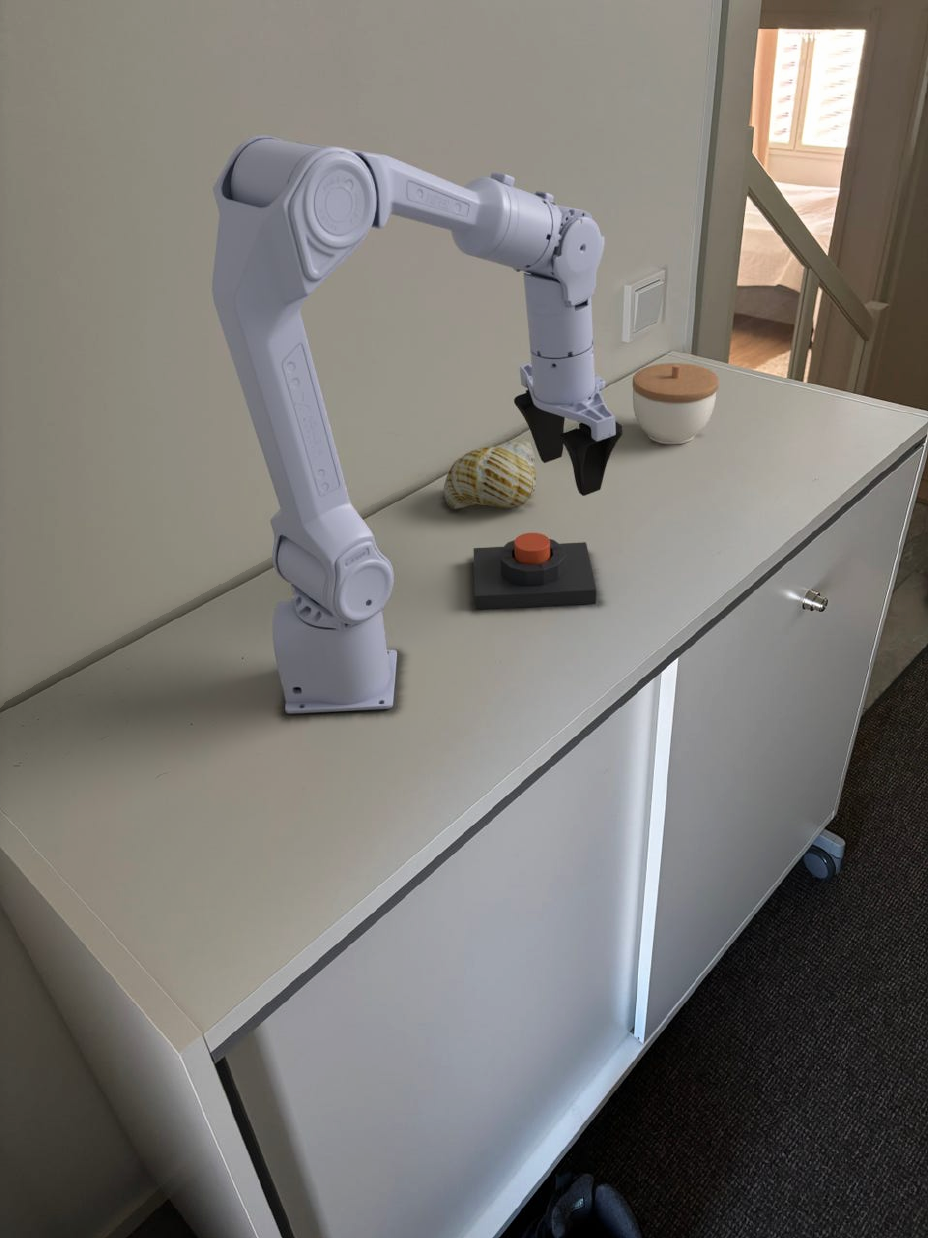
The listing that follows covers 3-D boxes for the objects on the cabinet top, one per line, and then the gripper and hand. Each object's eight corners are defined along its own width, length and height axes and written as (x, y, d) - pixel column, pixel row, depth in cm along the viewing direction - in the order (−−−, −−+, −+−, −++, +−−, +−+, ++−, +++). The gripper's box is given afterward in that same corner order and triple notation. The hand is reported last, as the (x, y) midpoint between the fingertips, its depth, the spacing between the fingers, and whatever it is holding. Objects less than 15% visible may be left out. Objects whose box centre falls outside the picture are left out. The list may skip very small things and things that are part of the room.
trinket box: (730, 435, 120) (738, 366, 115) (671, 460, 115) (676, 389, 110) (671, 410, 127) (676, 344, 122) (613, 433, 123) (615, 364, 117)
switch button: (515, 566, 92) (515, 551, 91) (513, 547, 95) (513, 533, 94) (551, 564, 92) (551, 549, 91) (548, 545, 95) (548, 531, 94)
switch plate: (475, 609, 92) (474, 580, 90) (474, 561, 99) (472, 533, 97) (596, 603, 92) (597, 574, 89) (585, 555, 99) (586, 527, 97)
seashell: (424, 495, 110) (450, 414, 107) (487, 507, 116) (513, 431, 113) (467, 526, 103) (497, 440, 100) (533, 537, 108) (562, 456, 105)
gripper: (644, 358, 79) (645, 493, 87) (560, 309, 89) (568, 433, 98) (572, 383, 77) (580, 517, 86) (495, 329, 88) (510, 454, 96)
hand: (570, 474), depth 92 cm, fingers open, 7 cm apart
